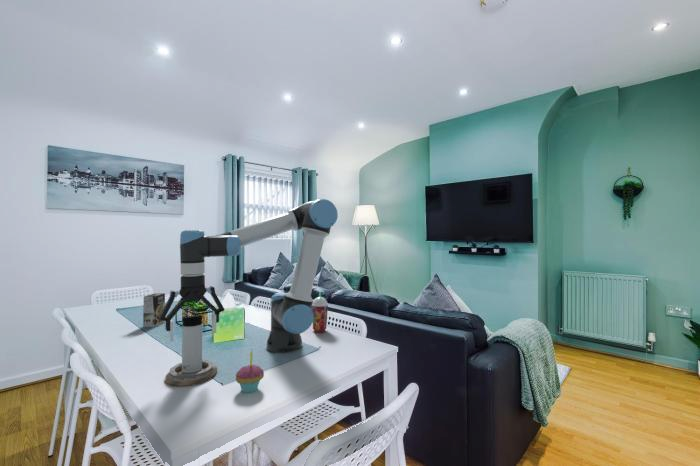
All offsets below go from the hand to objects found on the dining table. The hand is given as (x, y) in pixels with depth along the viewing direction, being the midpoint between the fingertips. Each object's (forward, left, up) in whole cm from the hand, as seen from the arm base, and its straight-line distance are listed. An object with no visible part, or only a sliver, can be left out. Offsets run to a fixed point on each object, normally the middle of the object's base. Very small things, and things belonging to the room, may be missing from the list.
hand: (193, 336), depth 111 cm
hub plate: (0, 0, -14) cm, 14 cm away
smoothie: (-32, -56, -14) cm, 66 cm away
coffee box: (+57, -52, -14) cm, 78 cm away
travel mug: (0, 0, -13) cm, 13 cm away
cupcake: (-24, +6, -14) cm, 28 cm away
